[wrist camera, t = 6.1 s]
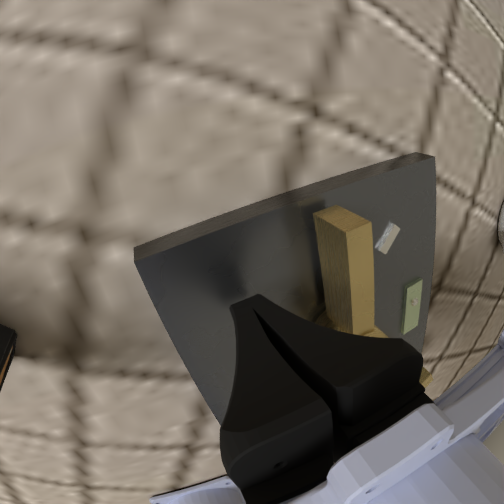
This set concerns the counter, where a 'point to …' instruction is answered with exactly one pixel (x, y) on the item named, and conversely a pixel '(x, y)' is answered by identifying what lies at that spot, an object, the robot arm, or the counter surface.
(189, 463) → the counter surface
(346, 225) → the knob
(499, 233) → the cup
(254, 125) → the counter surface
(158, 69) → the counter surface
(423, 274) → the base plate
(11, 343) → the ammunition clip
